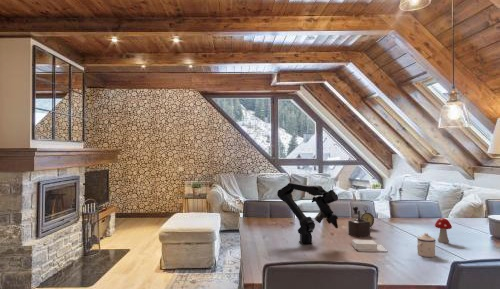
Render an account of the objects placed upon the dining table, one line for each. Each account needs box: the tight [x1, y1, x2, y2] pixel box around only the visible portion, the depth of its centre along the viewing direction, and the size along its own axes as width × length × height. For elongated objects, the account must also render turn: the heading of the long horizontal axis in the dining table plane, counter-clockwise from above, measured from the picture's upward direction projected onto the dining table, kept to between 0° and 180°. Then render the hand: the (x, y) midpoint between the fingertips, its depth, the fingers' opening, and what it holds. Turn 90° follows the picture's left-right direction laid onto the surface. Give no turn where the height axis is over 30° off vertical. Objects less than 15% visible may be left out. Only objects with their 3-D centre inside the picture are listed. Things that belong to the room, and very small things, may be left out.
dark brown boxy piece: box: [347, 206, 371, 238], centre depth 248 cm, size 16×11×18 cm
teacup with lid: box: [416, 233, 436, 258], centre depth 197 cm, size 12×9×12 cm
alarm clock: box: [360, 206, 375, 229], centre depth 266 cm, size 11×5×16 cm, turn 105°
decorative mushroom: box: [434, 217, 453, 245], centre depth 227 cm, size 10×9×15 cm
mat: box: [356, 244, 388, 253], centre depth 211 cm, size 16×14×1 cm
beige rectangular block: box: [351, 239, 378, 250], centre depth 211 cm, size 3×10×12 cm
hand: (337, 228), depth 215 cm, fingers closed
